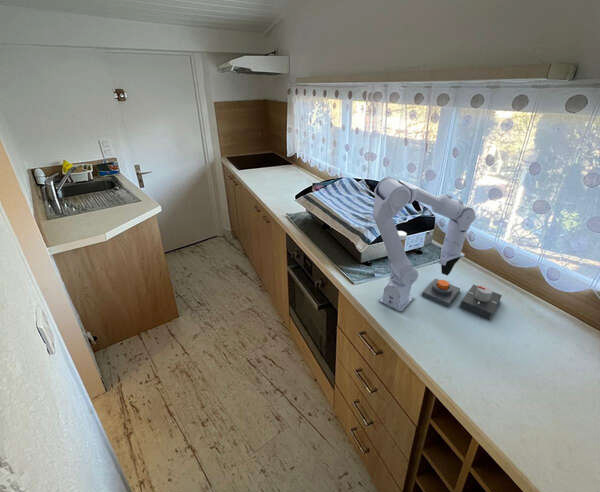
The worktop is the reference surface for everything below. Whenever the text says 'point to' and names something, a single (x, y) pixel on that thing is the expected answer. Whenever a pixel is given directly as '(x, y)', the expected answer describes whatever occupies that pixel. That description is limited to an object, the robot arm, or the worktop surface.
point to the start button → (443, 284)
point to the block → (441, 293)
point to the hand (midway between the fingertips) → (445, 273)
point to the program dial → (483, 293)
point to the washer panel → (480, 303)
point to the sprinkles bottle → (402, 237)
